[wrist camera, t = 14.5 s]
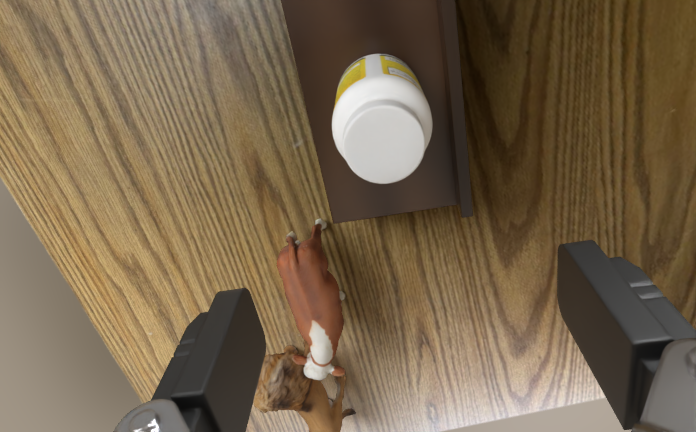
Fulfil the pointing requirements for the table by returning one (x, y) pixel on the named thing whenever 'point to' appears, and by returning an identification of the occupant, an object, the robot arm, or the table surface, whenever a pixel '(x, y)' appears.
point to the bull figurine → (313, 301)
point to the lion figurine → (299, 392)
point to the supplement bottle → (381, 119)
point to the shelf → (432, 74)
